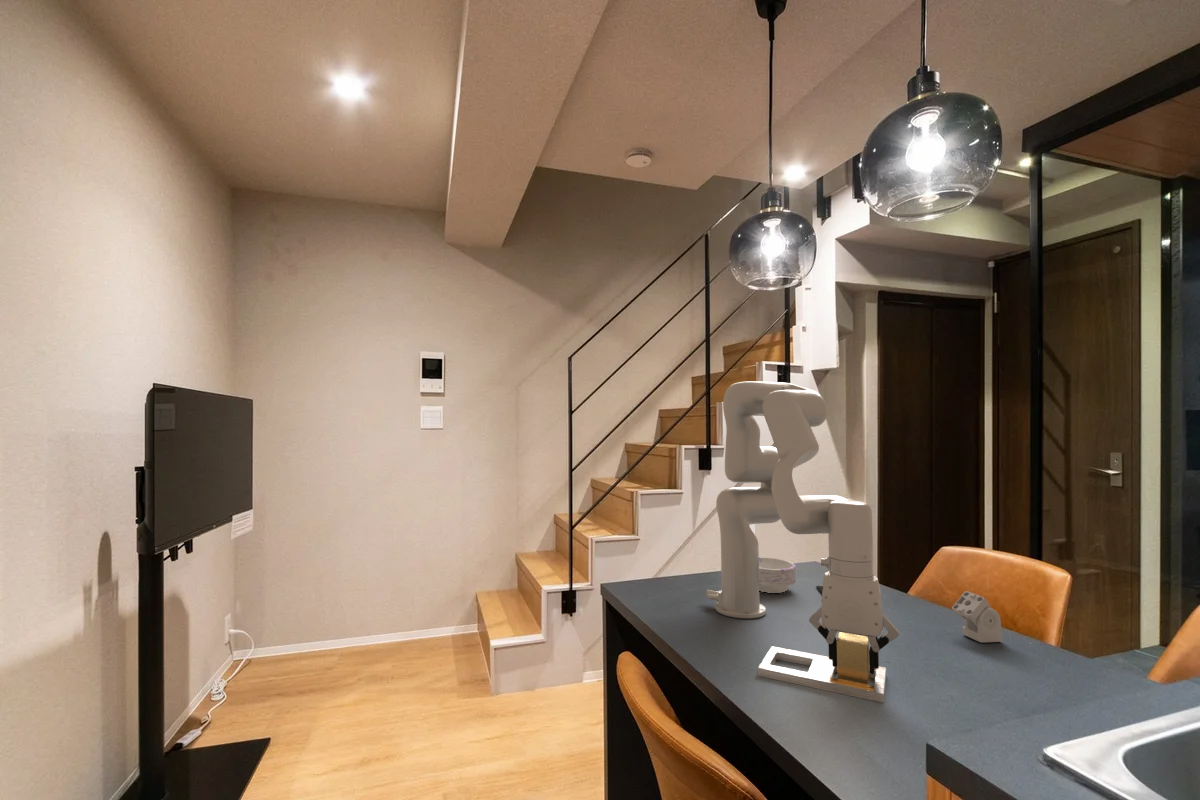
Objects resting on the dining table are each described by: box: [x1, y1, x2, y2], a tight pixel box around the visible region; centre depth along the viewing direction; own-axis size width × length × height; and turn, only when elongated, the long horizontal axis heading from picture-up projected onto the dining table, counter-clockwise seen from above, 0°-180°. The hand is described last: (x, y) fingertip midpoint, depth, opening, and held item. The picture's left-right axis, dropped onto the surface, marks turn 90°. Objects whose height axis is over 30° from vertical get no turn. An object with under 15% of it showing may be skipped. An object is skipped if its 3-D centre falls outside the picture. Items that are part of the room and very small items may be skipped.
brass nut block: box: [836, 632, 871, 685], centre depth 100 cm, size 5×5×8 cm
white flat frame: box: [757, 646, 887, 704], centre depth 102 cm, size 21×12×2 cm, turn 61°
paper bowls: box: [759, 556, 797, 594], centre depth 160 cm, size 15×15×8 cm
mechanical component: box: [951, 590, 1003, 643], centre depth 121 cm, size 5×8×10 cm
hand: (853, 666), depth 100 cm, fingers open, 5 cm apart
